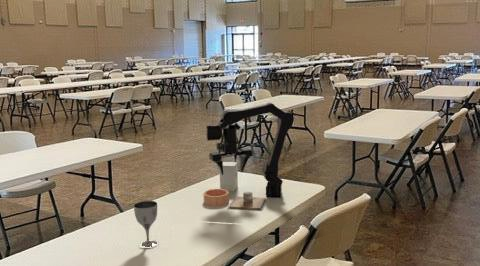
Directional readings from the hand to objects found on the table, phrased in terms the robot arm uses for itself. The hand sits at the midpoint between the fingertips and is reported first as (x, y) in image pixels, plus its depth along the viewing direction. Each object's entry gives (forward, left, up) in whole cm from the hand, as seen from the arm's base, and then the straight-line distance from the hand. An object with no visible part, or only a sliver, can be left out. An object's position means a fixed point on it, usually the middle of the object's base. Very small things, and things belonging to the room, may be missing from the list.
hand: (232, 173), depth 206 cm
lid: (-8, +6, -12) cm, 16 cm away
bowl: (+6, +5, -12) cm, 15 cm away
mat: (-8, +6, -12) cm, 16 cm away
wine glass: (+18, +51, -12) cm, 56 cm away
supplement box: (+5, -14, -12) cm, 19 cm away
